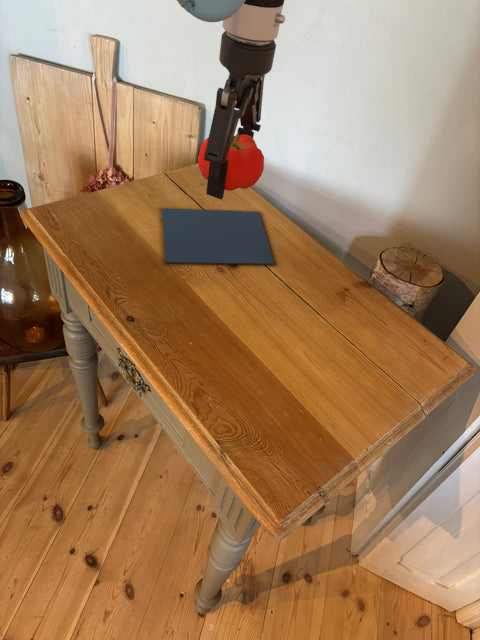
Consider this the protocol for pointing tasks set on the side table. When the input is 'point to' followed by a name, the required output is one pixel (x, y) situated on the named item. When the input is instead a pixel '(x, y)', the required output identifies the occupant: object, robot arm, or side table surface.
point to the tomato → (238, 163)
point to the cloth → (215, 237)
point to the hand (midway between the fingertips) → (228, 180)
